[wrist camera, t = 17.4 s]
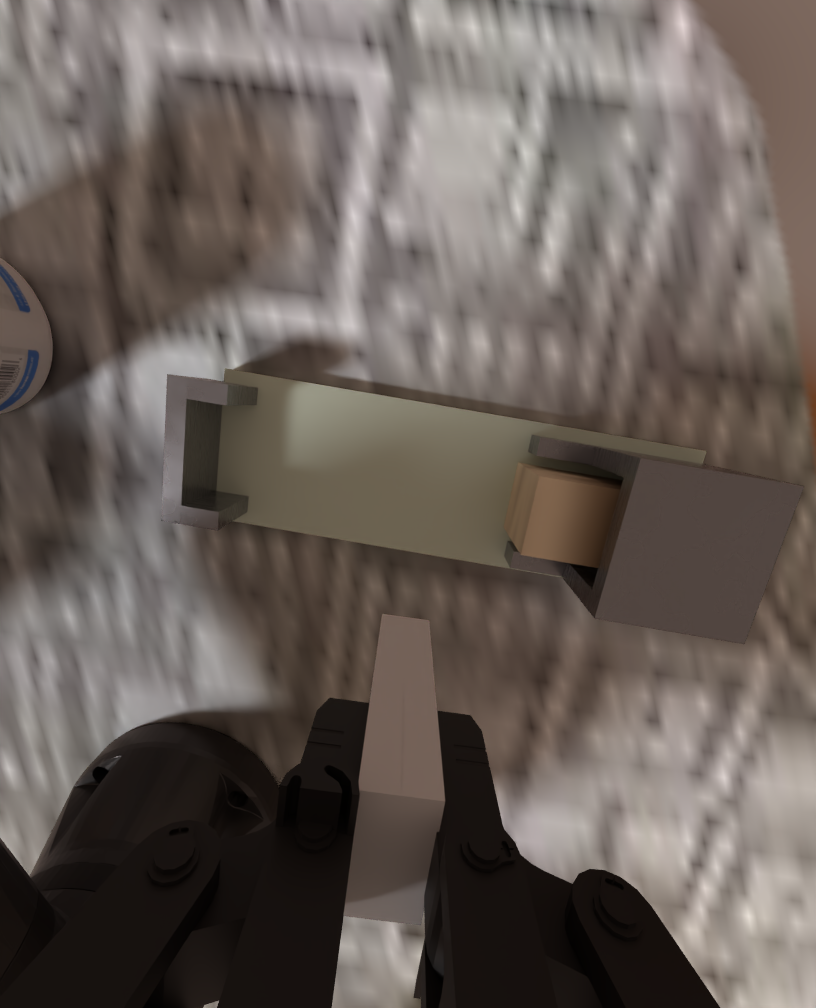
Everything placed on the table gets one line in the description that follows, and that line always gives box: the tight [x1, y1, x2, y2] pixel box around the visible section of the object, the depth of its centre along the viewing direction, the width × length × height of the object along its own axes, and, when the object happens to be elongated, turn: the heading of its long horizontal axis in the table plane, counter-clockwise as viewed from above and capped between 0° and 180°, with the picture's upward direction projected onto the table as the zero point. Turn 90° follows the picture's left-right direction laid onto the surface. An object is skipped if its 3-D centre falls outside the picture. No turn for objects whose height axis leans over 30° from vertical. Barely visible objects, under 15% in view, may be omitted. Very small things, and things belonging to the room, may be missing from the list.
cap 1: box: [161, 374, 258, 530], centre depth 24 cm, size 3×8×4 cm, turn 171°
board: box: [216, 368, 707, 578], centre depth 27 cm, size 28×9×1 cm, turn 81°
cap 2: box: [504, 435, 804, 644], centre depth 23 cm, size 10×8×7 cm
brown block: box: [504, 462, 623, 568], centre depth 24 cm, size 8×4×5 cm, turn 81°
